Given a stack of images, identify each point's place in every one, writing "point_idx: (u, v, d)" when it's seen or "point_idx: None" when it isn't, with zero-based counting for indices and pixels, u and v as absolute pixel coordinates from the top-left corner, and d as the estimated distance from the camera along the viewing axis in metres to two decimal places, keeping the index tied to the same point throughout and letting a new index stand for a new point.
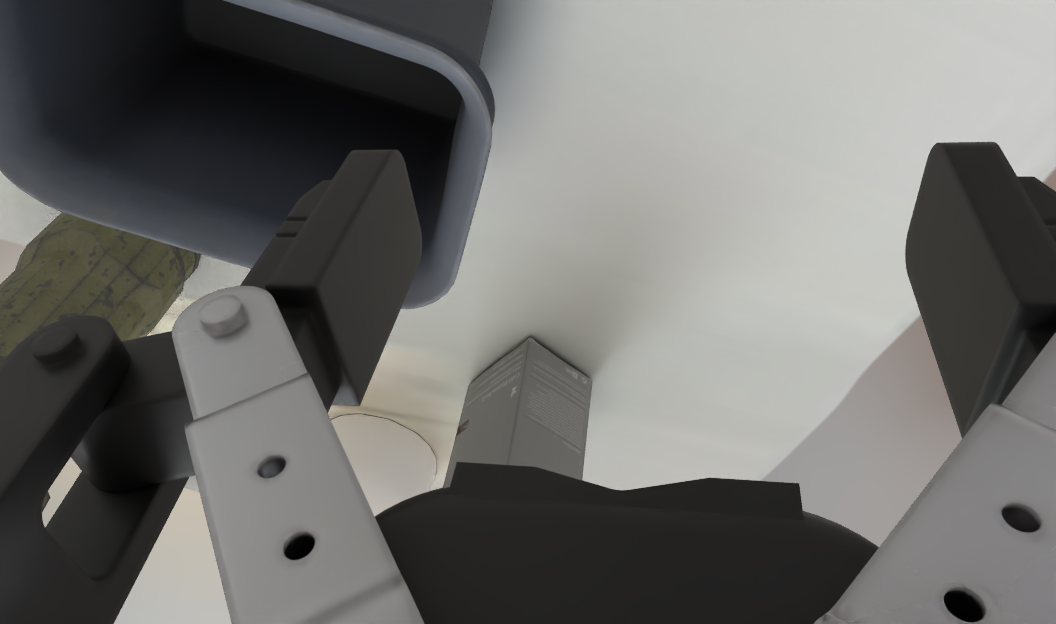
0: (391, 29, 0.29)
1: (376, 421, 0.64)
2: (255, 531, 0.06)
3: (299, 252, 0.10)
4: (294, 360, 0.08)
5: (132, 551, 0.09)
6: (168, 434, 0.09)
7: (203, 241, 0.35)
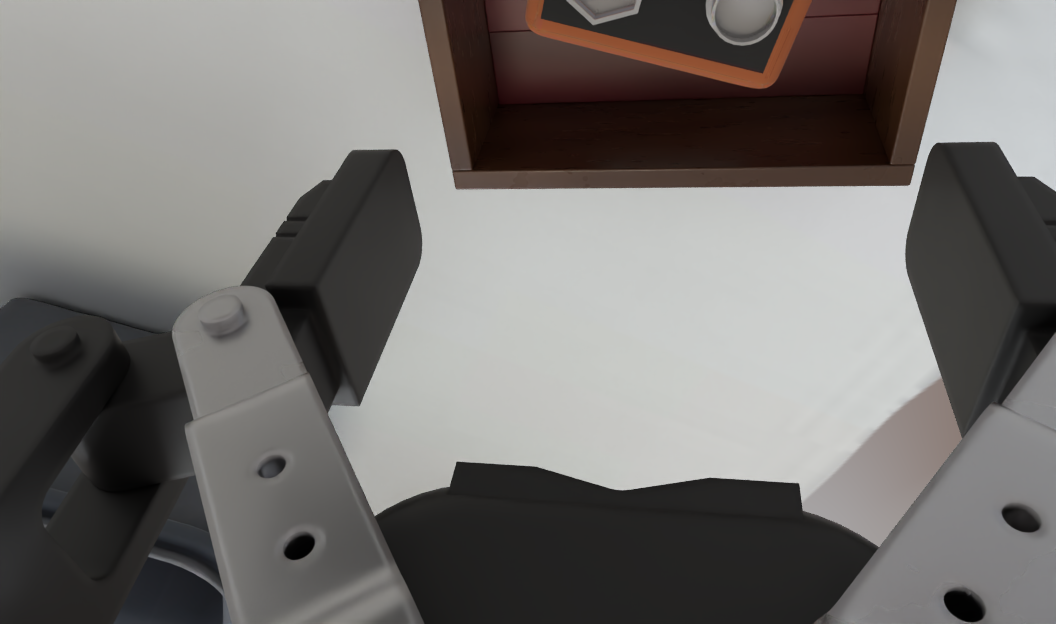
0: None
1: None
2: (255, 531, 0.06)
3: (299, 252, 0.10)
4: (294, 360, 0.08)
5: (131, 550, 0.09)
6: (168, 434, 0.09)
7: None
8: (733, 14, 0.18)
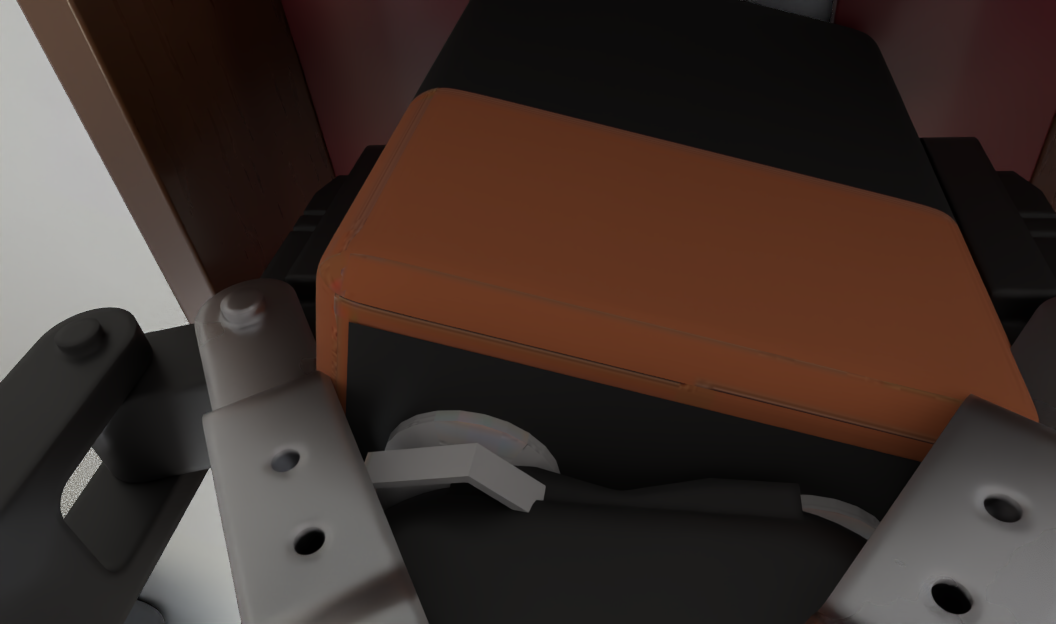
0: None
1: None
2: (267, 524, 0.06)
3: (318, 245, 0.10)
4: (313, 354, 0.08)
5: (149, 543, 0.09)
6: (187, 428, 0.09)
7: None
8: None
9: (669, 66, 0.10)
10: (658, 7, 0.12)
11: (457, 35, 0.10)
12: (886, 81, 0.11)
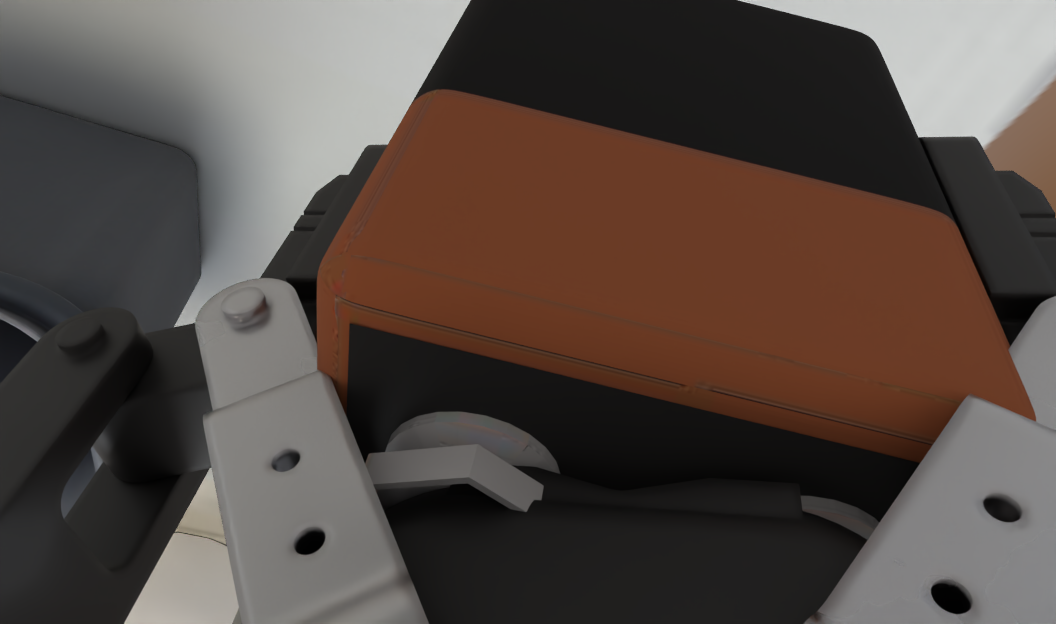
0: None
1: (195, 540, 0.62)
2: (267, 525, 0.06)
3: (319, 245, 0.10)
4: (313, 354, 0.08)
5: (149, 543, 0.09)
6: (188, 428, 0.09)
7: None
8: None
9: (669, 66, 0.10)
10: (658, 8, 0.12)
11: (457, 37, 0.10)
12: (886, 82, 0.11)
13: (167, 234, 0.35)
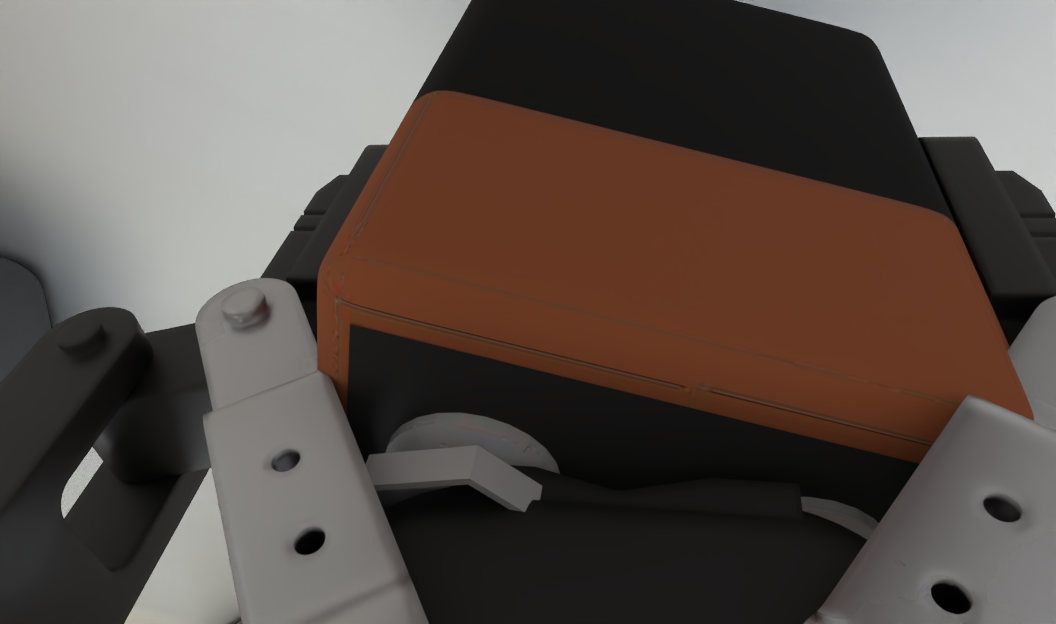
0: None
1: None
2: (267, 524, 0.06)
3: (318, 245, 0.10)
4: (313, 354, 0.08)
5: (149, 543, 0.09)
6: (188, 428, 0.09)
7: None
8: None
9: (668, 67, 0.10)
10: (658, 9, 0.12)
11: (457, 37, 0.10)
12: (885, 83, 0.11)
13: None
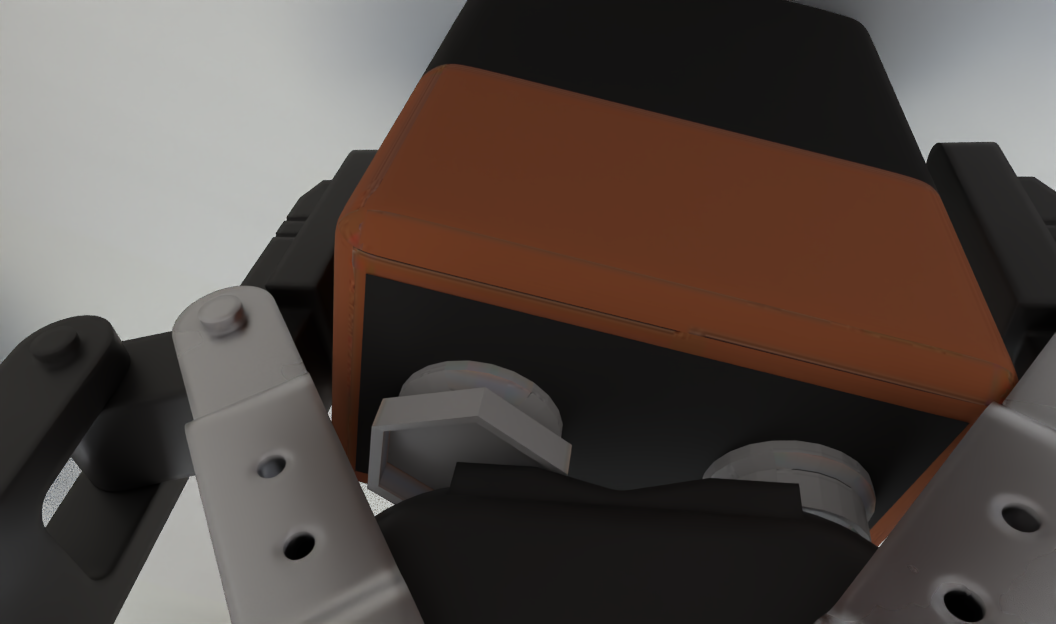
0: None
1: None
2: (255, 531, 0.06)
3: (299, 252, 0.10)
4: (294, 360, 0.08)
5: (131, 551, 0.09)
6: (168, 434, 0.09)
7: None
8: None
9: (665, 47, 0.11)
10: None
11: (464, 17, 0.11)
12: (874, 64, 0.12)
13: None
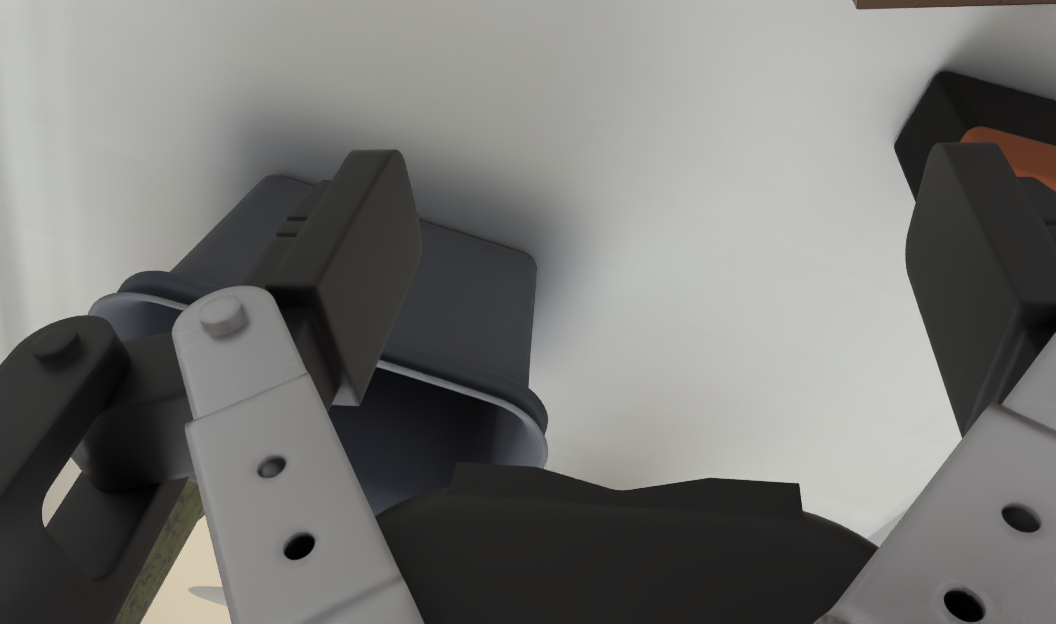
0: (466, 374, 0.34)
1: None
2: (255, 531, 0.06)
3: (299, 252, 0.10)
4: (294, 360, 0.08)
5: (132, 551, 0.09)
6: (168, 434, 0.09)
7: None
8: None
9: (1028, 119, 0.32)
10: (1008, 97, 0.33)
11: (964, 108, 0.32)
12: None
13: None
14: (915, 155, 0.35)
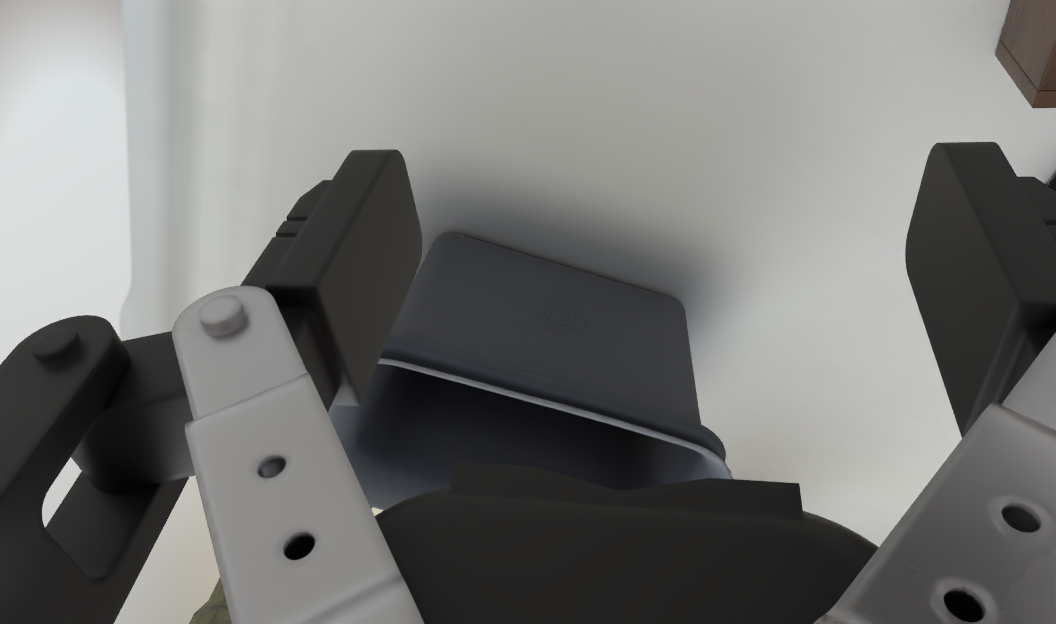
0: (661, 421, 0.39)
1: None
2: (254, 531, 0.06)
3: (299, 252, 0.10)
4: (293, 360, 0.08)
5: (132, 551, 0.09)
6: (168, 434, 0.09)
7: None
8: None
9: None
10: None
11: None
12: None
13: None
14: None
